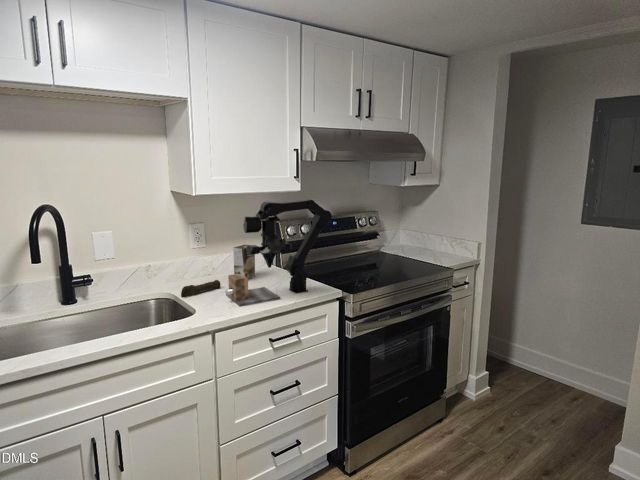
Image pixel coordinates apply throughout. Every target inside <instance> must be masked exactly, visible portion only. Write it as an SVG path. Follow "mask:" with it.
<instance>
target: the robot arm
mask: <svg viewBox="0 0 640 480" xmlns="http://www.w3.org/2000/svg"><path fill="white" fill-rule="evenodd" d="M302 210H308V211H309V212H310V213H311V214H312V215H313V218H312V221H311V222H312V223H311V227H310V228H309V230H308V232H307V233H306V235H305V237H304V239H303V241H302V242H301V244H300V246H299V248H298V250H297V252H296V253H295V254H294V255H291V254H290V255H288V256H289V257H288V259H287V260H286V261H285V263H286V264H285V270H286V271H287V273H289V276H291V277H290V281H289V288H288V290H289V291H291V292H292V293H294V294H300V293H305V292H307V293H308V292H309V290H308V289H307V279H308V276H309V275H308V274H309V273H307V272H305V270H304V268H305V265H306V258H307V257H308V255H309V253H310V251H311V249H312V247H313V246H314V244H315V242H316V240H317V239H318V237H319V235H320V233H321V231H323V229H325V228H326V227H327V226H328V225H329V223H330V222H331V221H332V219H333V215H332V212H331V211H330V210H327V209H325V208H323V206H320V205H319V204H318V203H317V202H315V200H313V199H310V198H307V199H302V200H295V201H294V200H293V201H285V202H284V201H282V202H280V201H279V202H277V201H263V202H262V203H261V204H260V208H259V210H258V212H257V213H256V214H255V216H244V220H243V224H242V225H243V226H242V227H243V231H244V233H245V234H252V233H259V232H260V231H261V233H260V236H261V240H262V241H261V242H260V244H261V246H259V245H256V244H253V245H252V244H249V245H250V246H247V248H246V252H247V253H249V254H255V255H259V254H260V255H262V257H263V258H264V261H265V263H266V265H267V267H268V268H269V269H270V268H272V265H273V262H274V260H275V257H276V256H277V255H278V254H280V252H281V251H282V249H283V250H284V251H291V250H292V244H291V243H290V242H287V241H286V239H285V238H280V239H278V234H277V233H276V231H277V230H276V222H280V221H281V219H280V218H279V217H278V215H280V214H282V213H285V212H293V211H302Z"/></svg>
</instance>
